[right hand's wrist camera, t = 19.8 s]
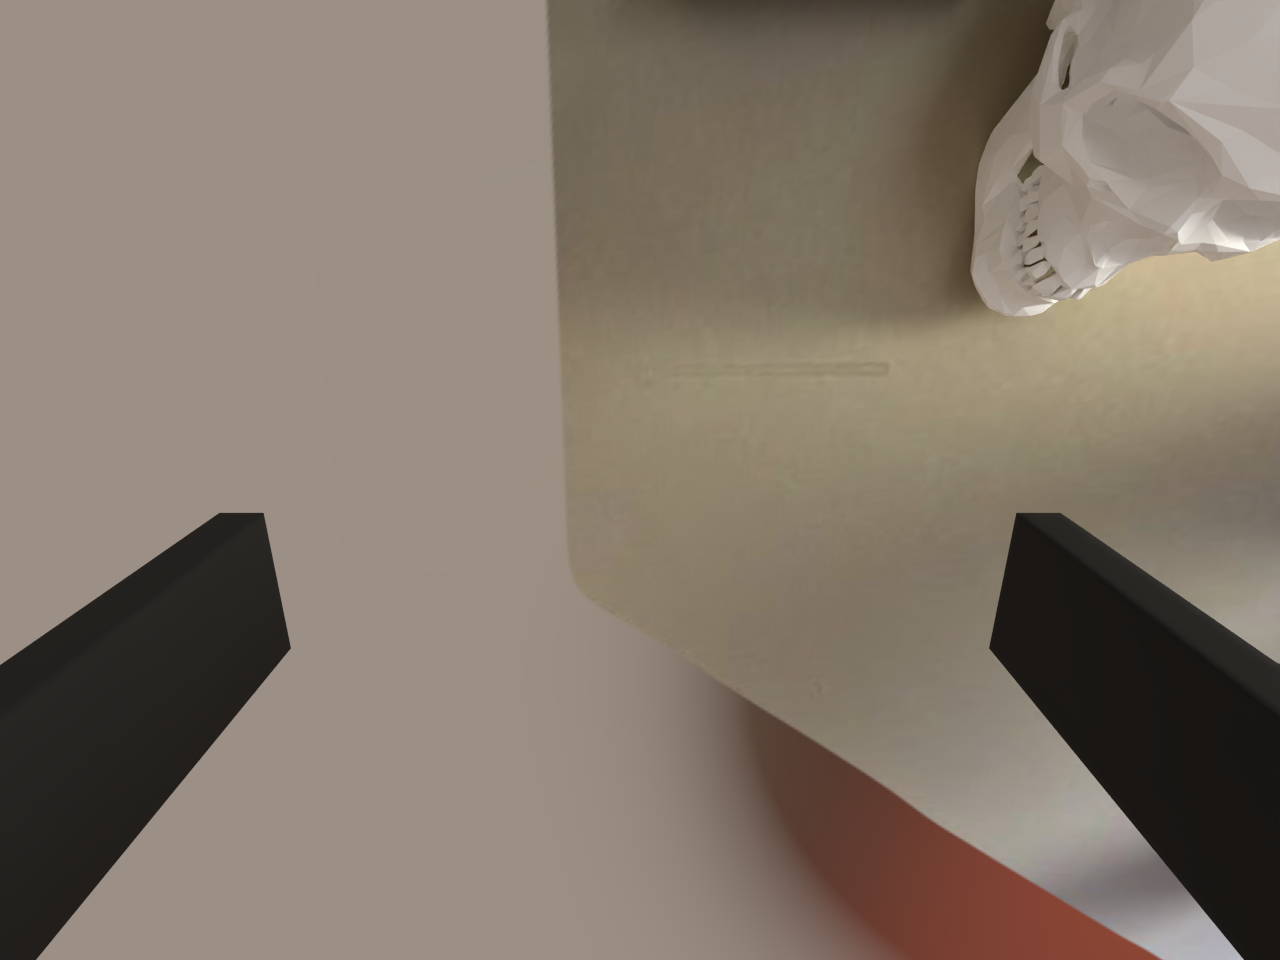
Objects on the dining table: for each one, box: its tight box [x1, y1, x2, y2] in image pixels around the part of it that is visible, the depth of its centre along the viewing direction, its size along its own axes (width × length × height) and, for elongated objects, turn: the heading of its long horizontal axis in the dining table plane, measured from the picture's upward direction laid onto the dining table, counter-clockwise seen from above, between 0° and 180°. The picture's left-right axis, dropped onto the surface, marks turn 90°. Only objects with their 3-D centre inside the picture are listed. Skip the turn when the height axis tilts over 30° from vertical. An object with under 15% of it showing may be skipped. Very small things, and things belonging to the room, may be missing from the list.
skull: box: [970, 0, 1280, 317], centre depth 28 cm, size 13×22×16 cm, turn 158°
